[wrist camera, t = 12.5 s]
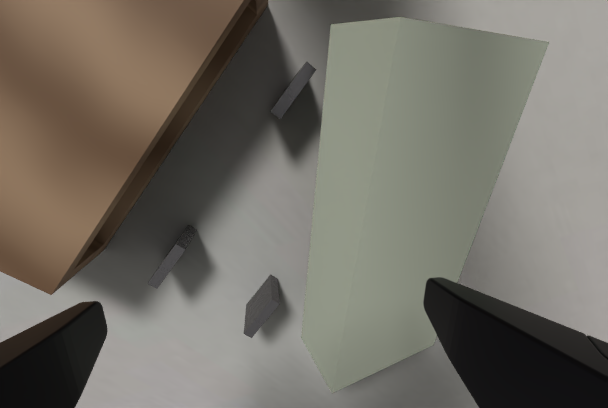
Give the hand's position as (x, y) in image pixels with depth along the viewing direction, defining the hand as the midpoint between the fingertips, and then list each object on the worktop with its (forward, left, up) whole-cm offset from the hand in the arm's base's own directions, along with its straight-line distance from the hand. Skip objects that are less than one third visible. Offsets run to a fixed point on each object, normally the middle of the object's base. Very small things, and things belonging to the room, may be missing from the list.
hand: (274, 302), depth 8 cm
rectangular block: (-1, +3, -6) cm, 6 cm away
